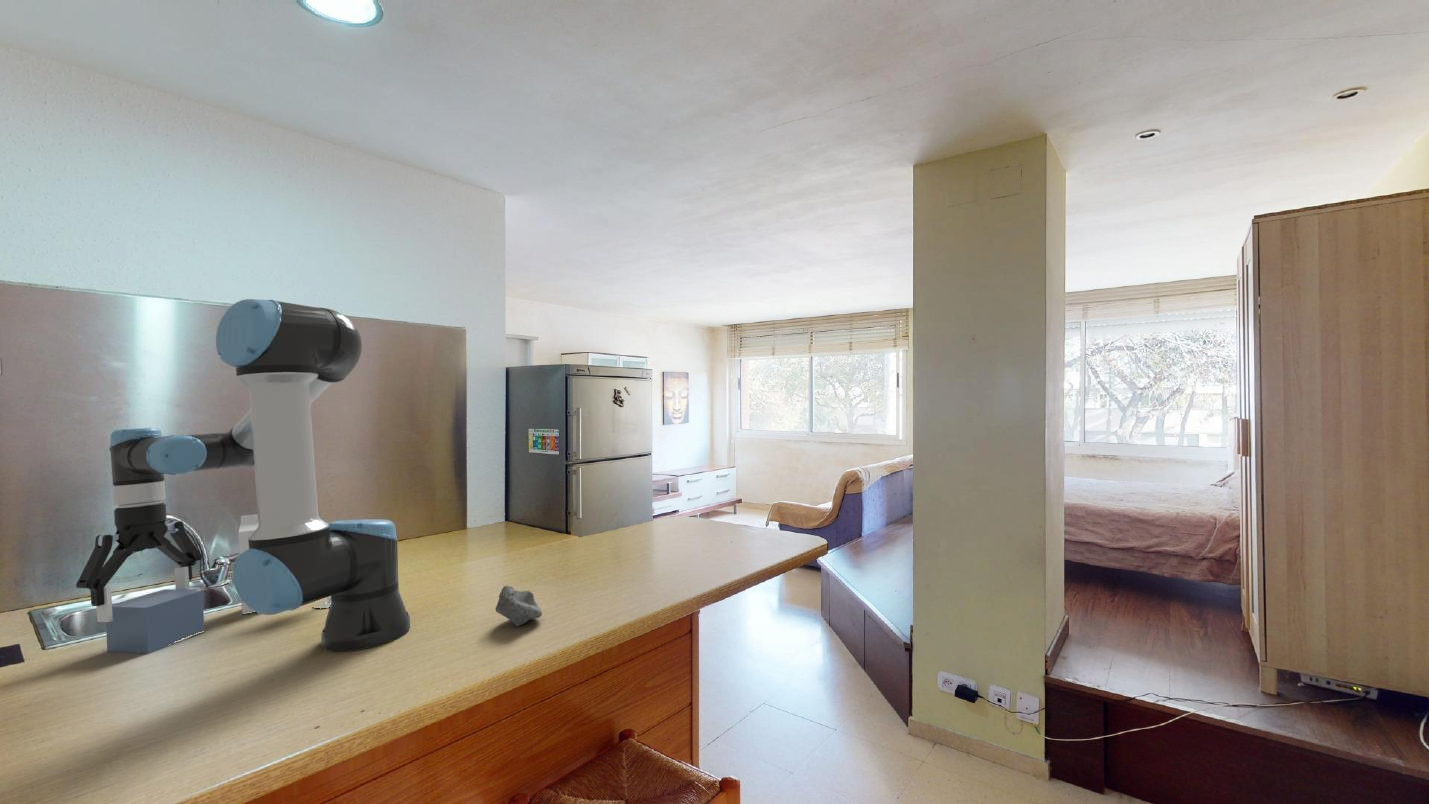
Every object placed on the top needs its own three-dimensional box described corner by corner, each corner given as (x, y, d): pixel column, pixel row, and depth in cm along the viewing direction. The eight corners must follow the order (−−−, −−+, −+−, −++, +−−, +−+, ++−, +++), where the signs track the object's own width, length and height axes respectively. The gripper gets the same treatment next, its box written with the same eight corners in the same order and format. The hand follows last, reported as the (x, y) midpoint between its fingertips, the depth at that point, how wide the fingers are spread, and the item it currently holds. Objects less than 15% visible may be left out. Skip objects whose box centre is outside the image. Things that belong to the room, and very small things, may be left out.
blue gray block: (204, 632, 122) (202, 590, 122) (148, 653, 112) (146, 607, 112) (166, 630, 124) (164, 589, 124) (107, 651, 114) (105, 606, 114)
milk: (274, 609, 134) (270, 514, 134) (241, 615, 131) (237, 518, 131) (278, 602, 140) (275, 510, 140) (246, 607, 137) (243, 513, 137)
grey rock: (548, 627, 116) (546, 587, 116) (500, 638, 112) (499, 596, 112) (536, 611, 126) (534, 574, 126) (491, 620, 121) (490, 582, 121)
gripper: (192, 494, 131) (197, 588, 131) (44, 516, 107) (51, 632, 106) (218, 493, 130) (224, 589, 129) (75, 516, 105) (82, 633, 105)
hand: (146, 609), depth 118 cm, fingers open, 13 cm apart
